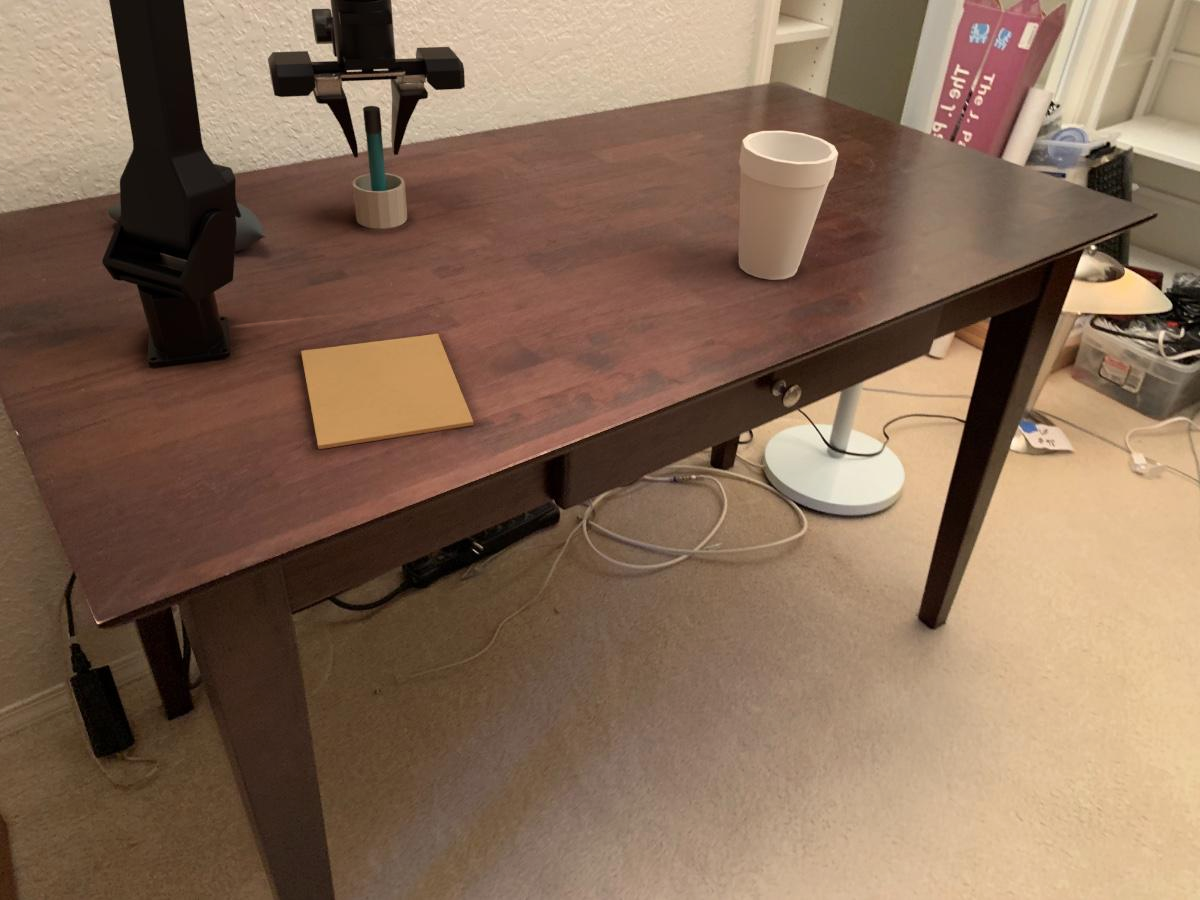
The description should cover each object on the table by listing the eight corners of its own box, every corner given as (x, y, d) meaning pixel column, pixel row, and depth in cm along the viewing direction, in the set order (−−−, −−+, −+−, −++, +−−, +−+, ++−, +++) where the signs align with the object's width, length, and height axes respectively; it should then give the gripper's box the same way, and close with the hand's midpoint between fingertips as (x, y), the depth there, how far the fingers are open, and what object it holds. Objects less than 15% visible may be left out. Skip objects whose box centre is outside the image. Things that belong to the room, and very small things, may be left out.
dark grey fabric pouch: (89, 237, 95) (75, 190, 92) (120, 218, 99) (107, 173, 96) (264, 267, 92) (256, 220, 89) (288, 246, 96) (281, 201, 93)
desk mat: (473, 425, 73) (473, 421, 73) (318, 449, 70) (317, 445, 69) (438, 337, 83) (437, 333, 83) (301, 354, 80) (300, 350, 80)
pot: (411, 229, 101) (408, 190, 98) (360, 233, 99) (356, 194, 97) (402, 209, 105) (399, 171, 102) (353, 213, 103) (349, 174, 101)
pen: (390, 220, 101) (381, 110, 94) (375, 221, 101) (364, 111, 94) (388, 214, 103) (378, 105, 95) (372, 215, 102) (361, 106, 95)
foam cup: (741, 240, 104) (760, 124, 96) (821, 259, 101) (847, 142, 93) (712, 272, 97) (729, 151, 89) (796, 295, 94) (822, 171, 86)
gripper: (439, -24, 97) (446, 124, 106) (253, -23, 91) (278, 134, 101) (463, 0, 88) (468, 159, 98) (260, 4, 83) (286, 171, 92)
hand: (375, 154), depth 97 cm, fingers open, 4 cm apart
